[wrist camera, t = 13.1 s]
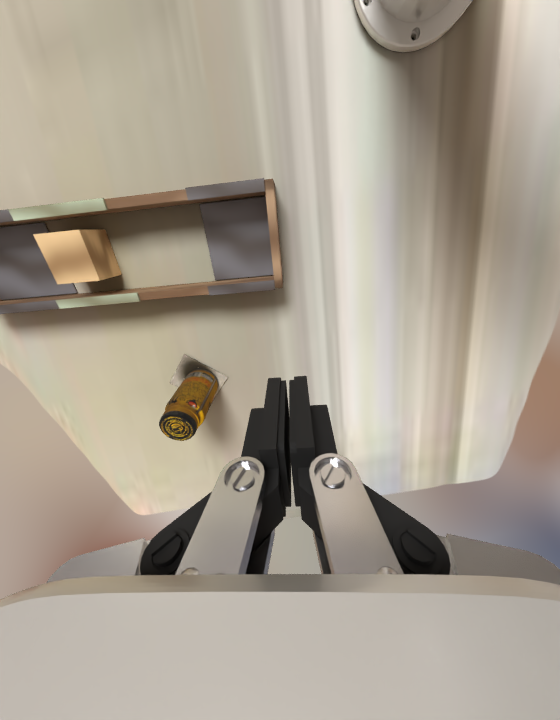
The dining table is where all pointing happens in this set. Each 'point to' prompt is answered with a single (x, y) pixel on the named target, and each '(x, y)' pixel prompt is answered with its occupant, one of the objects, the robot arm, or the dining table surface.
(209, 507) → the robot arm
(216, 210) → the box
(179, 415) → the condiment
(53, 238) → the block
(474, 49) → the dining table surface
